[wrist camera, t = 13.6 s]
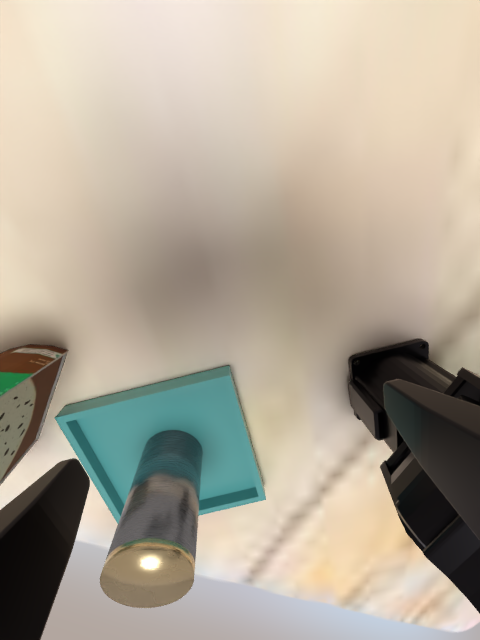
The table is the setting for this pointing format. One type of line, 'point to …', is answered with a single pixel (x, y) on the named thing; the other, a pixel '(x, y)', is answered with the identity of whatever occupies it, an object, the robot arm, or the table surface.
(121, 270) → the table surface
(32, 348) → the food container
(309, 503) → the table surface
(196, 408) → the teal tray
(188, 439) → the grey tin
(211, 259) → the table surface
